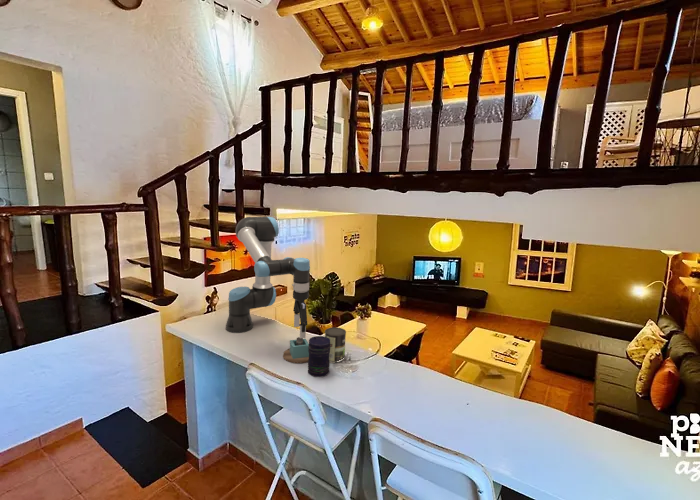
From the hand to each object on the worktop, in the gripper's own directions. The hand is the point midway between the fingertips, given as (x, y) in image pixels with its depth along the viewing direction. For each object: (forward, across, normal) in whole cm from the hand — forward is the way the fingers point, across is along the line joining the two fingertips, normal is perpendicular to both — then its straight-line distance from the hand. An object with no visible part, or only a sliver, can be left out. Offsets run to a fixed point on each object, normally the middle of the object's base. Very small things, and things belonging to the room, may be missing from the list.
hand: (299, 332), depth 174 cm
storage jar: (+12, +18, +5) cm, 22 cm away
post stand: (+12, 0, 0) cm, 12 cm away
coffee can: (+12, +8, +16) cm, 22 cm away
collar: (+11, 0, 0) cm, 11 cm away
